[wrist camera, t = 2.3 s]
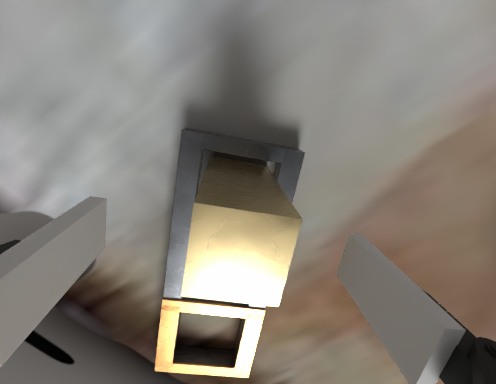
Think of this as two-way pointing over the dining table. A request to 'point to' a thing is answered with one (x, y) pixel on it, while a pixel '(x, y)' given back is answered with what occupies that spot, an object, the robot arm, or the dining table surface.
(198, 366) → the rail
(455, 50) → the dining table surface
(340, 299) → the dining table surface
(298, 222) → the brass peg
